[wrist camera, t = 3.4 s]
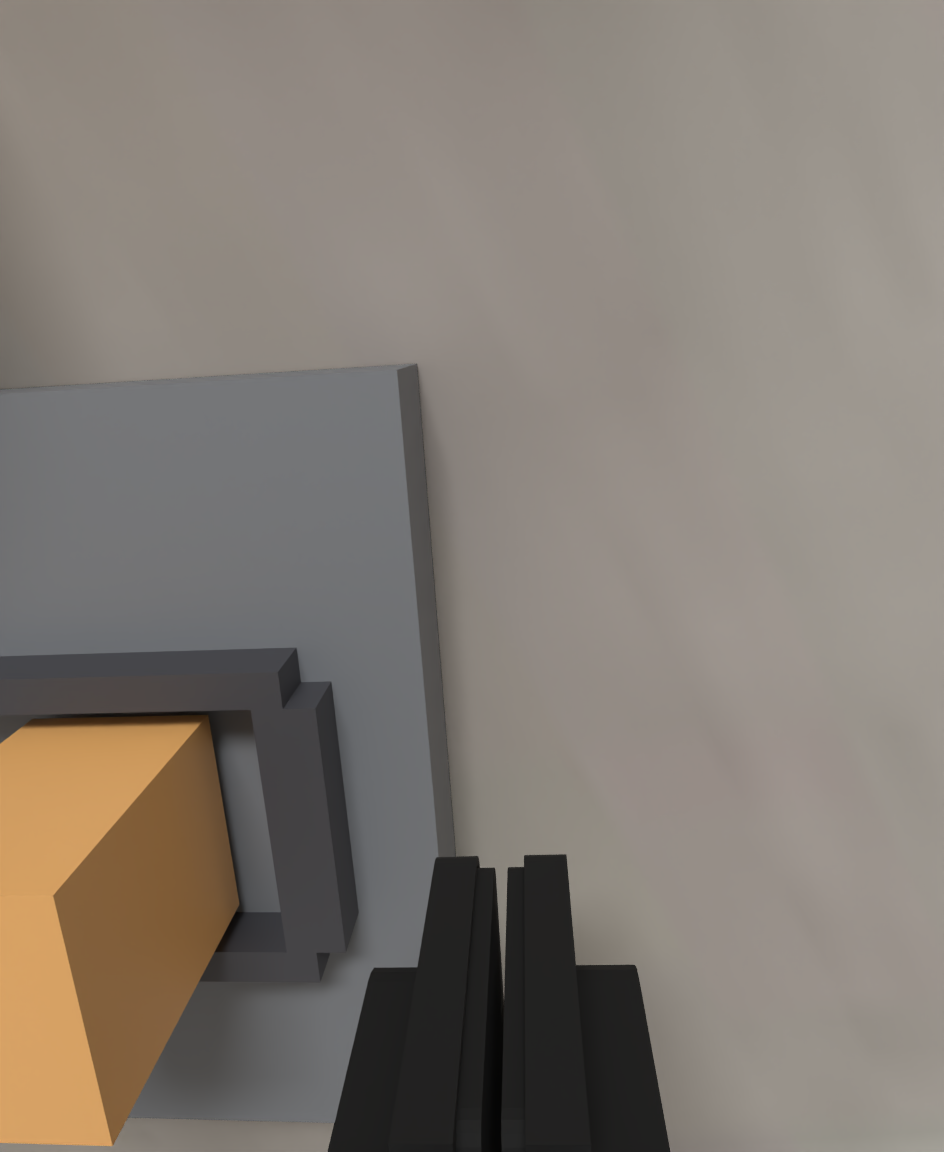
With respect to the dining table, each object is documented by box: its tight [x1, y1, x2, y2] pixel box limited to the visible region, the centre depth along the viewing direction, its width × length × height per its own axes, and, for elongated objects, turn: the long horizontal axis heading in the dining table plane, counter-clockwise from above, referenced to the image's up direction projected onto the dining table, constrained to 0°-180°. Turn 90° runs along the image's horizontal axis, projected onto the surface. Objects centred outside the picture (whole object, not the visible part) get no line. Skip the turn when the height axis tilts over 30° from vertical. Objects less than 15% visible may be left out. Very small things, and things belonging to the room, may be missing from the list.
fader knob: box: [0, 715, 239, 1146], centre depth 12 cm, size 3×4×4 cm
